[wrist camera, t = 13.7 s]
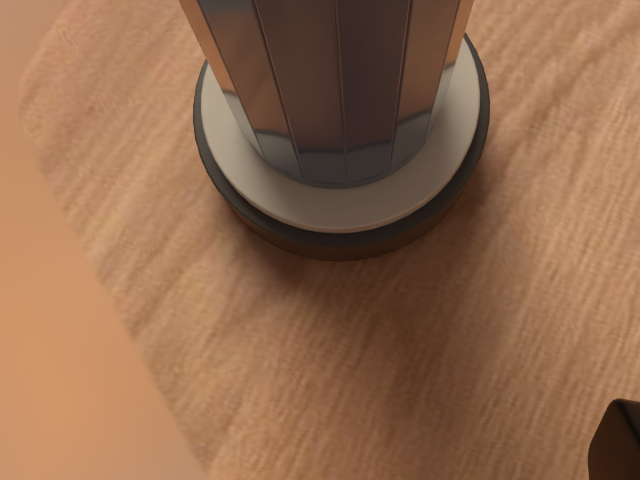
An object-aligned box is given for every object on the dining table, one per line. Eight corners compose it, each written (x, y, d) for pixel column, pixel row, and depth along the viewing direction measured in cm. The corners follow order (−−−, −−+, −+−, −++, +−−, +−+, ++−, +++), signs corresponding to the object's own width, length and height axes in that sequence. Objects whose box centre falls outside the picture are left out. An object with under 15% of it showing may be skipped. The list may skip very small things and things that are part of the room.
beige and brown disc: (337, 320, 19) (333, 310, 16) (155, 130, 21) (126, 94, 18) (535, 129, 20) (561, 91, 17) (344, -36, 22) (342, -91, 19)
